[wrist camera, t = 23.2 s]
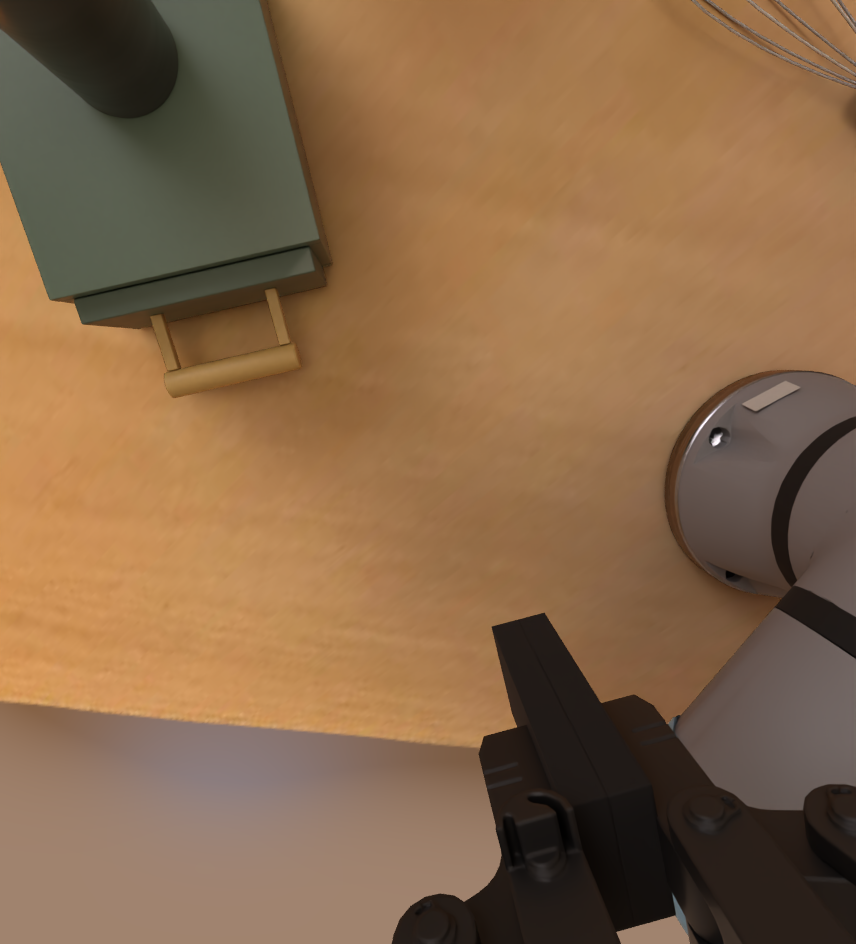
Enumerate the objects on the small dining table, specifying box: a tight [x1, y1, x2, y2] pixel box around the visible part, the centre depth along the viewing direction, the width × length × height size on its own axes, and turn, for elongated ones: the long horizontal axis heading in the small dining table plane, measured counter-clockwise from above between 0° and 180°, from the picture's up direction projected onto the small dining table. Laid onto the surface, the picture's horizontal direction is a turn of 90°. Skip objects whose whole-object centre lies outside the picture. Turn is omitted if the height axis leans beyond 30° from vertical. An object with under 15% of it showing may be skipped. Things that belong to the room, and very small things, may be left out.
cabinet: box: [0, 0, 333, 304], centre depth 30 cm, size 16×13×9 cm
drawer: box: [74, 246, 327, 398], centre depth 30 cm, size 19×11×7 cm, turn 13°
